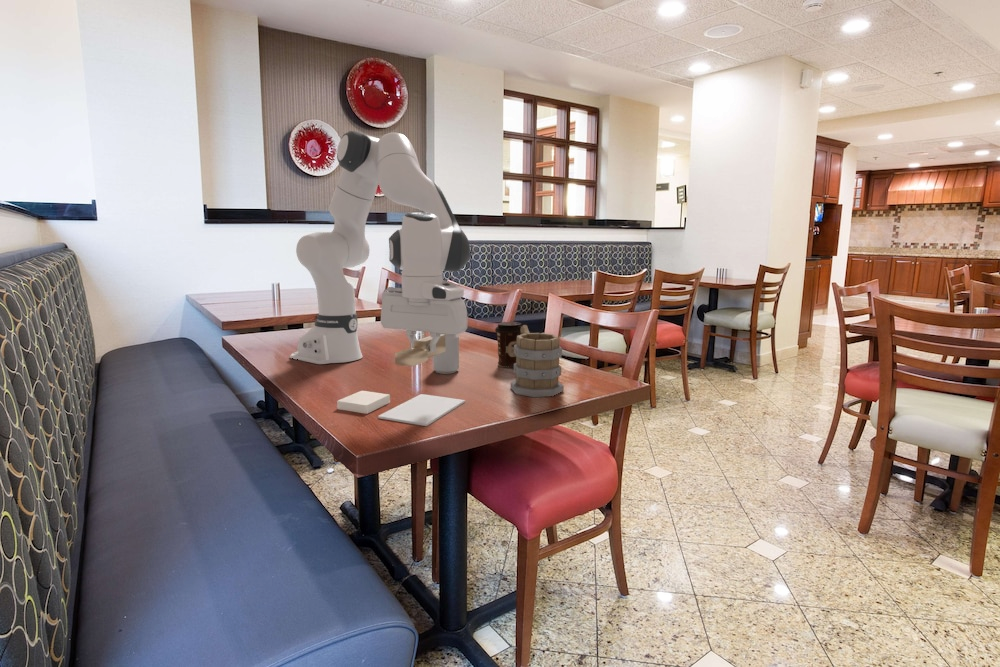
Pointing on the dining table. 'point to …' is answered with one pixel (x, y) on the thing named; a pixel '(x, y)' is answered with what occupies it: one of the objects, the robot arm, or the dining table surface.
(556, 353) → the tankard
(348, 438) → the dining table surface
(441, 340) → the tan stepped bar
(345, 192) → the robot arm
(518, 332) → the coffee cup
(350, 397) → the tile
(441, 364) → the can
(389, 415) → the mat
